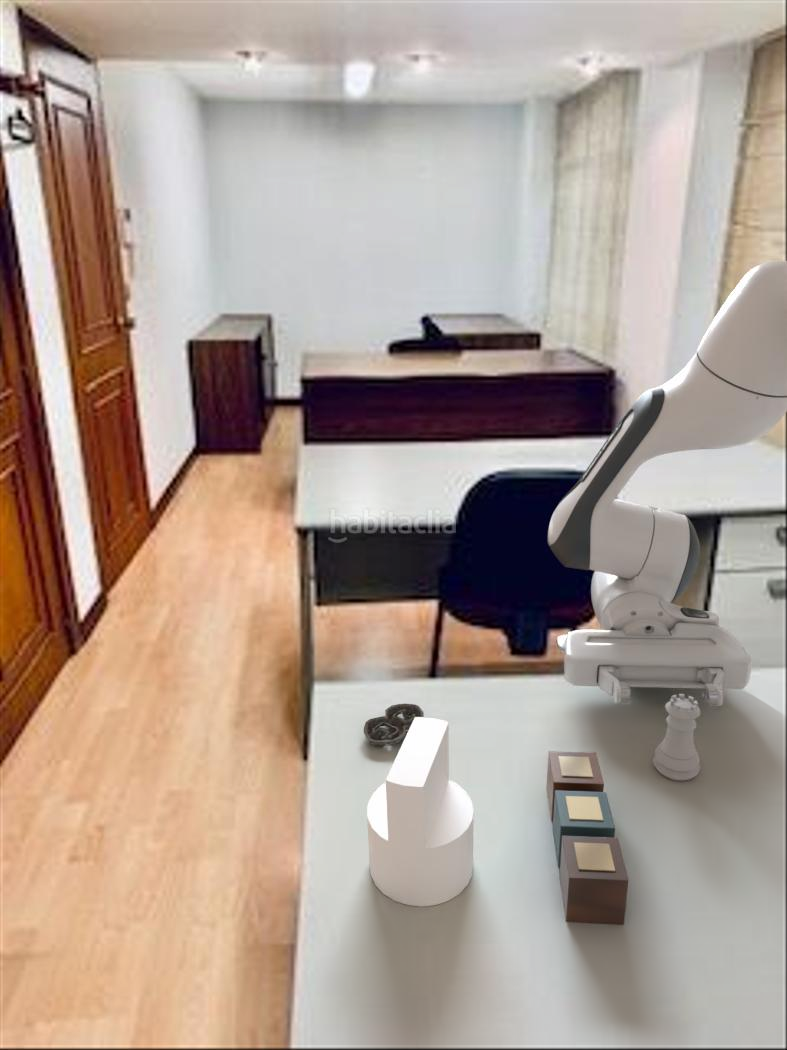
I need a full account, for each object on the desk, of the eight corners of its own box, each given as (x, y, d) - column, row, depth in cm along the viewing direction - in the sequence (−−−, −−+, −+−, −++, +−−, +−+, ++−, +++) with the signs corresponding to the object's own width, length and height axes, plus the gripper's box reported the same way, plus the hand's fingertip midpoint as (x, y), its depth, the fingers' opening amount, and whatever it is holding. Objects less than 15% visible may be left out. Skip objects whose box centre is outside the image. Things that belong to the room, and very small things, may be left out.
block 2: (613, 879, 64) (617, 836, 62) (624, 924, 60) (628, 879, 58) (559, 877, 64) (562, 834, 63) (565, 921, 60) (568, 877, 58)
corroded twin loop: (434, 721, 85) (434, 713, 85) (387, 756, 80) (386, 747, 79) (400, 704, 88) (400, 697, 88) (353, 737, 83) (352, 729, 82)
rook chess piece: (642, 761, 78) (649, 694, 75) (677, 749, 79) (685, 684, 77) (674, 788, 74) (682, 719, 71) (709, 775, 76) (719, 707, 73)
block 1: (593, 790, 74) (596, 751, 72) (600, 823, 70) (604, 783, 68) (546, 788, 74) (548, 750, 73) (551, 821, 70) (553, 781, 69)
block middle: (602, 831, 69) (606, 790, 67) (611, 870, 65) (615, 827, 63) (552, 829, 69) (554, 788, 68) (558, 867, 65) (560, 825, 64)
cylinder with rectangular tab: (460, 917, 61) (461, 796, 57) (355, 893, 63) (347, 775, 59) (482, 837, 69) (483, 725, 65) (387, 818, 71) (382, 710, 67)
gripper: (555, 610, 92) (570, 671, 80) (729, 612, 91) (773, 674, 78) (553, 656, 95) (567, 721, 82) (723, 658, 93) (765, 726, 80)
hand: (669, 699), depth 80 cm, fingers open, 8 cm apart
